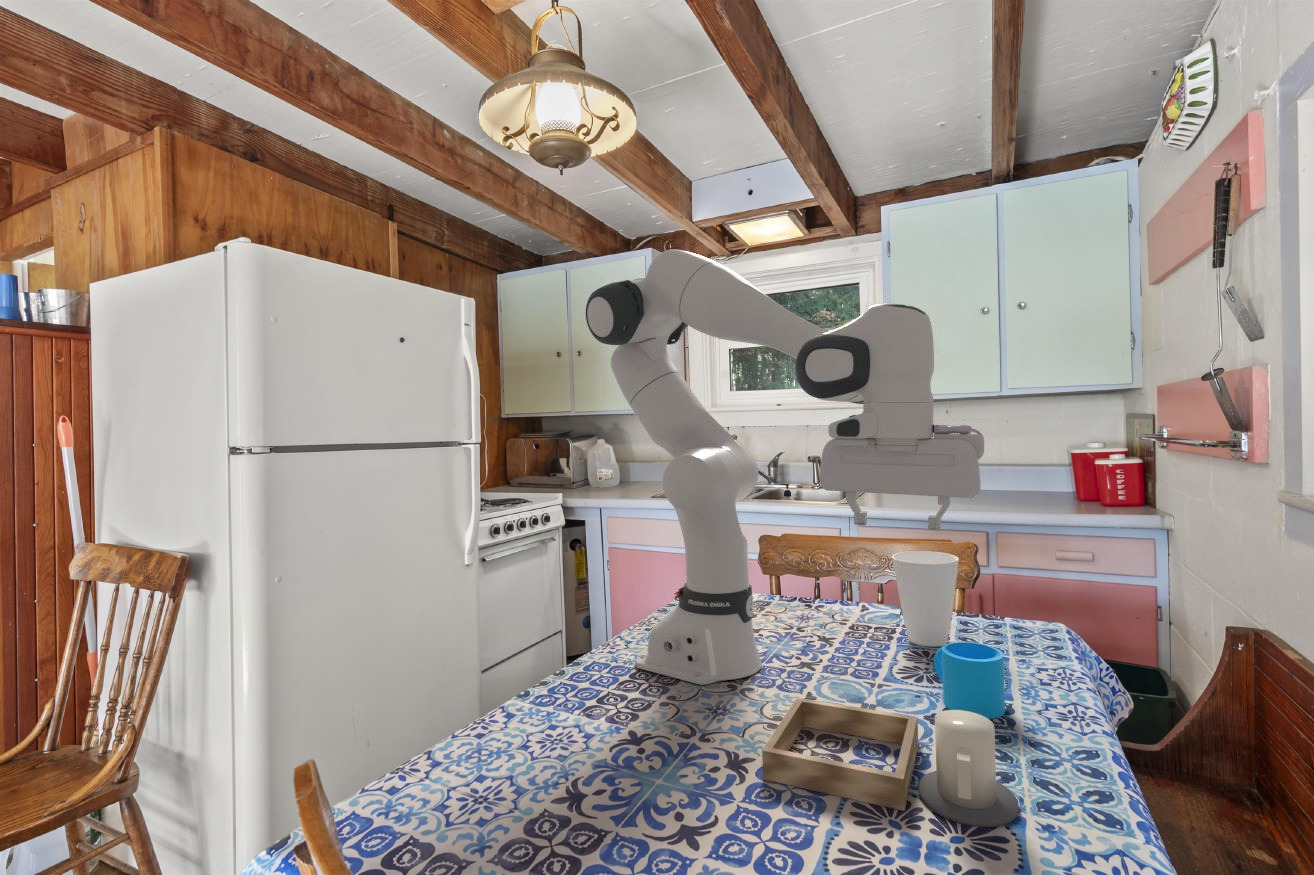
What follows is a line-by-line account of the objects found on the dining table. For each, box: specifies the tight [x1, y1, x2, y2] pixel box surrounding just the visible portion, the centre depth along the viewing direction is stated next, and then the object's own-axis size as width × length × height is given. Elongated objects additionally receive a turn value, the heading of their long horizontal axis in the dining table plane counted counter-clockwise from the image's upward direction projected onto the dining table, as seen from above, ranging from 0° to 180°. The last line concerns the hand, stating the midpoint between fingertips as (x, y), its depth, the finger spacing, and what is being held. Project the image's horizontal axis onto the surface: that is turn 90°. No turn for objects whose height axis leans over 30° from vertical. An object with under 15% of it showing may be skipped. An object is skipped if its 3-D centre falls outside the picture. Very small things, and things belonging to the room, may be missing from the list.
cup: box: [891, 550, 960, 647], centre depth 122 cm, size 12×12×16 cm
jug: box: [934, 709, 997, 809], centre depth 70 cm, size 9×6×8 cm
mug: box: [933, 641, 1006, 720], centre depth 96 cm, size 12×8×8 cm
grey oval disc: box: [918, 770, 1019, 828], centre depth 71 cm, size 10×10×1 cm
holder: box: [761, 697, 919, 812], centre depth 80 cm, size 16×16×4 cm
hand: (896, 527), depth 86 cm, fingers open, 8 cm apart
